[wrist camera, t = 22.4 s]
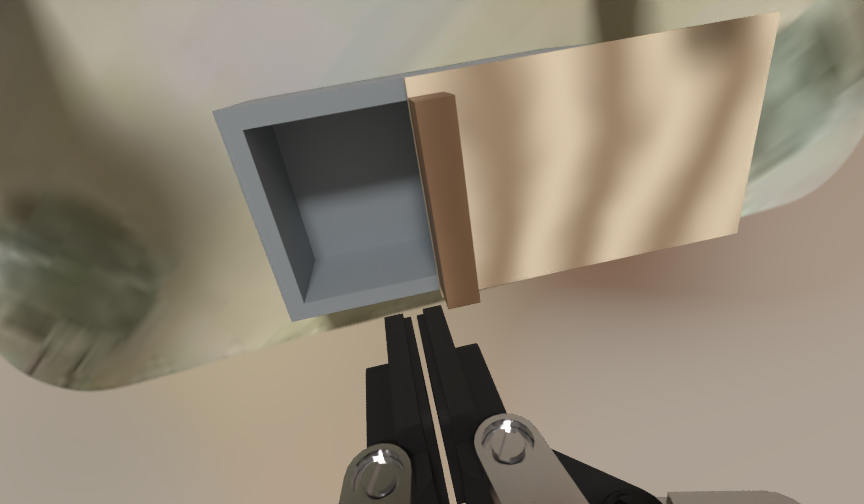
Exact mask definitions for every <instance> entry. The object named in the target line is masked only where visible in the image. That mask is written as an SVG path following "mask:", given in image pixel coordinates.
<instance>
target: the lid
mask: <svg viewBox="0 0 864 504" xmlns="http://www.w3.org/2000/svg"><path fill="white" fill-rule="evenodd" d="M779 17H780V12H773V13H766V14H761V15H755V16H749V17H744V18H738V19H732V20H727V21H721V22H715V23H710V24H704V25H699V26H693V27H687V28H682V29H676V30H670V31H665V32H659V33H653V34H648V35H642V36H636V37H631V38H625V39H620V40H614V41H608V42H603V43H597V44H591V45H586V46H580V47H574V48H569V49H563V50H558V51H552V52H546V53H541V54H535V55H529V56H524V57H518V58H512V59H507V60H501V61H495V62H490V63H484V64H479V65H473V66H467V67H462V68H456V69H450V70H445V71H439V72H433V73H428V74H422V75H416V76H411V77H405V78H403V79H404V85H405V91H406V96H407V102H408V108H409V114H410V120H411V125H412V131H413V137H414V143H415V149H416V154H417V160H418V166H419V172H420V178H421V183H422V189H423V195H424V201H425V207H426V212H427V218H428V224H429V230H430V236H431V241H432V247H433V253H434V259H435V265H436V270H437V276H438V282H439V288H440V293H441V296H442V298H443V297H444V298H445V301H446V303H447V306H448V309H452V308H456V307H461V306H465V305H470V304H475V303H479V302H480V295H479V289H484V288H488V287H493V286H497V285H502V284H506V283H511V282H516V281H520V280H525V279H529V278H534V277H538V276H543V275H547V274H552V273H557V272H561V271H566V270H570V269H575V268H579V267H583V266H588V265H593V264H597V263H602V262H607V261H611V260H615V259H620V258H625V257H629V256H634V255H638V254H643V253H648V252H652V251H657V250H661V249H666V248H670V247H675V246H680V245H684V244H689V243H693V242H697V241H702V240H707V239H711V238H716V237H720V236H725V235H730V234H734V233H737V230H738V225H739V221H740V216H741V211H742V205H743V200H744V195H745V190H746V185H747V180H748V175H749V170H750V165H751V160H752V155H753V150H754V144H755V139H756V134H757V129H758V124H759V119H760V114H761V109H762V104H763V99H764V94H765V89H766V83H767V78H768V73H769V68H770V63H771V58H772V53H773V48H774V43H775V38H776V33H777V28H778V22H779Z"/></svg>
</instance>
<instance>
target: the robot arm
mask: <svg viewBox="0 0 864 504" xmlns="http://www.w3.org/2000/svg"><path fill="white" fill-rule="evenodd" d="M384 319H385V330H386V340H387V352H388V364H384V365H379V366H375V367H371V368H367V369H366V420H367V449H365V450H363V451H362V452H360V453H359V454H358V455H357V456H356V457H355V458H354V459H353V460H352V462H351V463H350V465H349V466H348V468H347V471H346V473H345V476H344V481H343V486H342V491H341V496H340V501H339V504H449V498H448V493H447V489H446V484H445V478H444V473H443V468H442V464H441V459H440V454H439V449H438V444H437V439H436V434H435V429H434V424H433V420H432V414H431V409H430V404H429V399H428V394H427V390H426V385H425V380H424V376H423V371H422V367H421V362H420V357H419V352H418V348H417V343H416V338H415V334H414V329H413V325H412V320H411V317H407V318H404V317H403V314H398V315H394V316H389V317H385V318H384ZM417 320H418V325H419V329H420V334H421V339H422V344H423V349H424V353H425V358H426V363H427V368H428V373H429V378H430V383H431V387H432V392H433V397H434V401H435V406H436V410H437V415H438V419H439V424H440V428H441V433H442V437H443V442H444V447H445V451H446V456H447V460H448V465H449V469H450V474H451V479H452V483H453V488H454V492H455V497H456V501H457V504H462V503H466V504H800V503H798V502H797V501H796V500H794V499H792V498H789V497H787V496H784V495H782V494H780V493H776V492H768V491H705V492H704V491H702V492H668V494H667V497H655V496H653V495H651V494H650V493H648V492H646V491H645V490H643V489H640V488H638V487H636V486H634V485H631V484H629V483H627V482H625V481H623V480H620V479H618V478H616V477H613V476H611V475H609V474H607V473H605V472H602V471H600V470H598V469H596V468H593V467H591V466H589V465H587V464H584V463H582V462H580V461H578V460H575V459H573V458H571V457H569V456H566V455H564V454H562V453H560V452H557V451H555V450H553V449H551V448H550V447H549V445H548V444H547V442H546V441H545V439H544V438H543V437H542V435H541V434H540V432H539V431H538V429H537V428H536V427H535V426H534V425H533V424H532V423H531V422H530V421H529V420H527V419H525V418H523V417H522V416H518V415H514V414H507V413H506V410H505V408H504V406H503V403H502V401H501V399H500V396H499V394H498V391H497V389H496V387H495V384H494V382H493V379H492V377H491V375H490V372H489V370H488V367H487V365H486V363H485V360H484V358H483V356H482V353H481V351H480V348H479V346H478V344H477V343H475V344H470V345H466V346H462V347H458V348H455V346H454V343H453V340H452V337H451V334H450V331H449V328H448V325H447V322H446V319H445V316H444V313H443V310H442V307H441V305H439V306H434V307H430V308H425V309H423V314H421V315H417Z"/></svg>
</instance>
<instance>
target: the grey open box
mask: <svg viewBox="0 0 864 504" xmlns="http://www.w3.org/2000/svg"><path fill="white" fill-rule="evenodd" d="M594 44H597V43H594ZM586 45H591V44H585V45H575V46H565V47H555V48H546V49H539V50H533V51H527V52H522V53H516V54H510V55H505V56H499V57H493V58H488V59H482V60H476V61H471V62H465V63H459V64H454V65H448V66H442V67H437V68H431V69H425V70H420V71H414V72H408V73H403V74H397V75H391V76H386V77H380V78H374V79H369V80H363V81H357V82H352V83H346V84H340V85H335V86H329V87H323V88H318V89H312V90H306V91H301V92H295V93H289V94H284V95H278V96H272V97H267V98H261V99H255V100H250V101H246V102H243V103H239V104H236V105H233V106H229V107H226V108H222V109H219V110H216V111H212V112H213V115H214V118H215V120H216V123H217V125H218V128H219V131H220V133H221V136H222V139H223V141H224V144H225V147H226V149H227V152H228V155H229V157H230V160H231V162H232V165H233V168H234V170H235V173H236V176H237V178H238V181H239V184H240V186H241V189H242V191H243V194H244V197H245V199H246V202H247V205H248V207H249V210H250V213H251V215H252V218H253V220H254V223H255V226H256V228H257V231H258V234H259V236H260V239H261V242H262V244H263V247H264V250H265V252H266V255H267V257H268V260H269V263H270V265H271V268H272V271H273V273H274V276H275V279H276V281H277V284H278V286H279V289H280V292H281V294H282V297H283V300H284V302H285V305H286V308H287V310H288V313H289V316H290V318H291V321H292V322H293V321H298V320H302V319H307V318H312V317H316V316H321V315H325V314H330V313H335V312H339V311H344V310H348V309H353V308H357V307H362V306H367V305H371V304H376V303H380V302H385V301H390V300H394V299H399V298H403V297H408V296H413V295H417V294H422V293H426V292H431V291H435V290H440V288H439V282H438V276H437V270H436V265H435V259H434V253H433V247H432V241H431V236H430V230H429V224H428V218H427V212H426V207H425V201H424V195H423V189H422V183H421V178H420V172H419V166H418V160H417V154H416V149H415V143H414V137H413V131H412V125H411V120H410V114H409V108H408V102H407V96H406V91H405V85H404V79H403V78H405V77H411V76H416V75H422V74H428V73H433V72H439V71H445V70H450V69H456V68H462V67H467V66H473V65H479V64H484V63H490V62H495V61H501V60H507V59H512V58H518V57H524V56H529V55H535V54H541V53H546V52H552V51H558V50H563V49H569V48H574V47H580V46H586Z"/></svg>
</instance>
